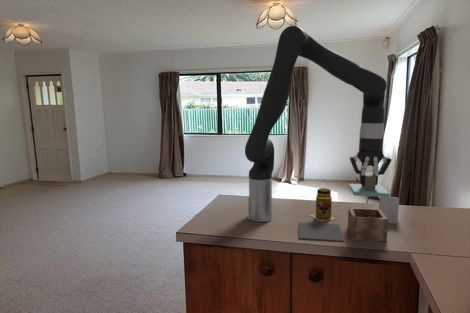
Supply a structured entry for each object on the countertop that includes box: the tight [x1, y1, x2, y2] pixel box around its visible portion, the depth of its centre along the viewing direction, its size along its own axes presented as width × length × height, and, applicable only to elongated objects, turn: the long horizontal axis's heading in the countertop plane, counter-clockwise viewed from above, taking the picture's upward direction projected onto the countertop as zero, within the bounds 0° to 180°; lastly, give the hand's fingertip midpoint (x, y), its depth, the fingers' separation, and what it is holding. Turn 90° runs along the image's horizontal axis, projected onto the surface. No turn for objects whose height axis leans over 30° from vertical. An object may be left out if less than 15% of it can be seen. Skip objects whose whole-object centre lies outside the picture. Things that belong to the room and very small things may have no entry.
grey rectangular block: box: [378, 196, 400, 225], centre depth 128 cm, size 4×7×10 cm, turn 59°
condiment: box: [309, 187, 337, 223], centre depth 133 cm, size 7×8×12 cm
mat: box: [298, 221, 345, 243], centre depth 119 cm, size 15×15×1 cm
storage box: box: [347, 207, 389, 243], centre depth 115 cm, size 11×11×8 cm
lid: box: [348, 171, 390, 198], centre depth 113 cm, size 11×11×6 cm
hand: (368, 185), depth 113 cm, fingers closed on lid, 3 cm apart
